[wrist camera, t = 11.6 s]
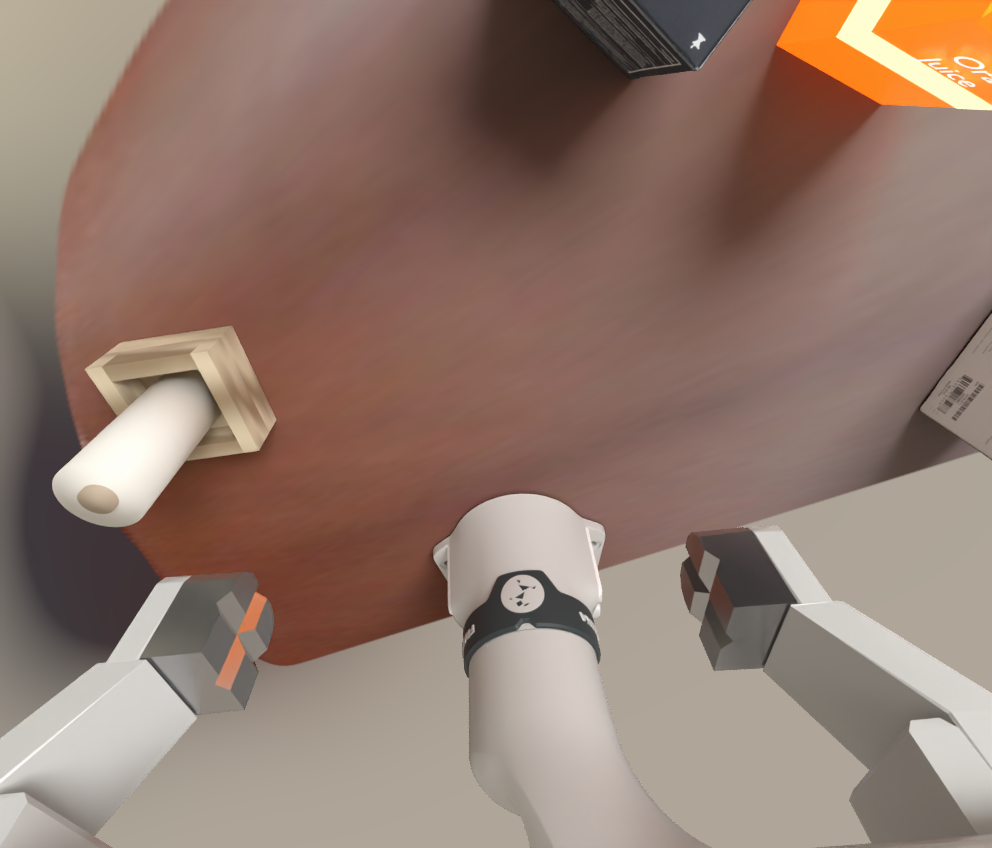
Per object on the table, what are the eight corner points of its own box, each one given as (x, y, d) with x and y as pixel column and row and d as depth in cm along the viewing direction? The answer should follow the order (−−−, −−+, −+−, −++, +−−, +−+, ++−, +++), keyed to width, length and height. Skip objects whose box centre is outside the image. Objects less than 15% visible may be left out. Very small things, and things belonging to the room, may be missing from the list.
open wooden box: (276, 419, 43) (258, 450, 40) (178, 433, 44) (151, 465, 40) (232, 325, 38) (207, 351, 35) (121, 342, 39) (84, 369, 35)
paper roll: (235, 416, 41) (159, 525, 30) (177, 425, 41) (81, 536, 31) (207, 363, 38) (112, 463, 28) (144, 373, 38) (27, 476, 28)
